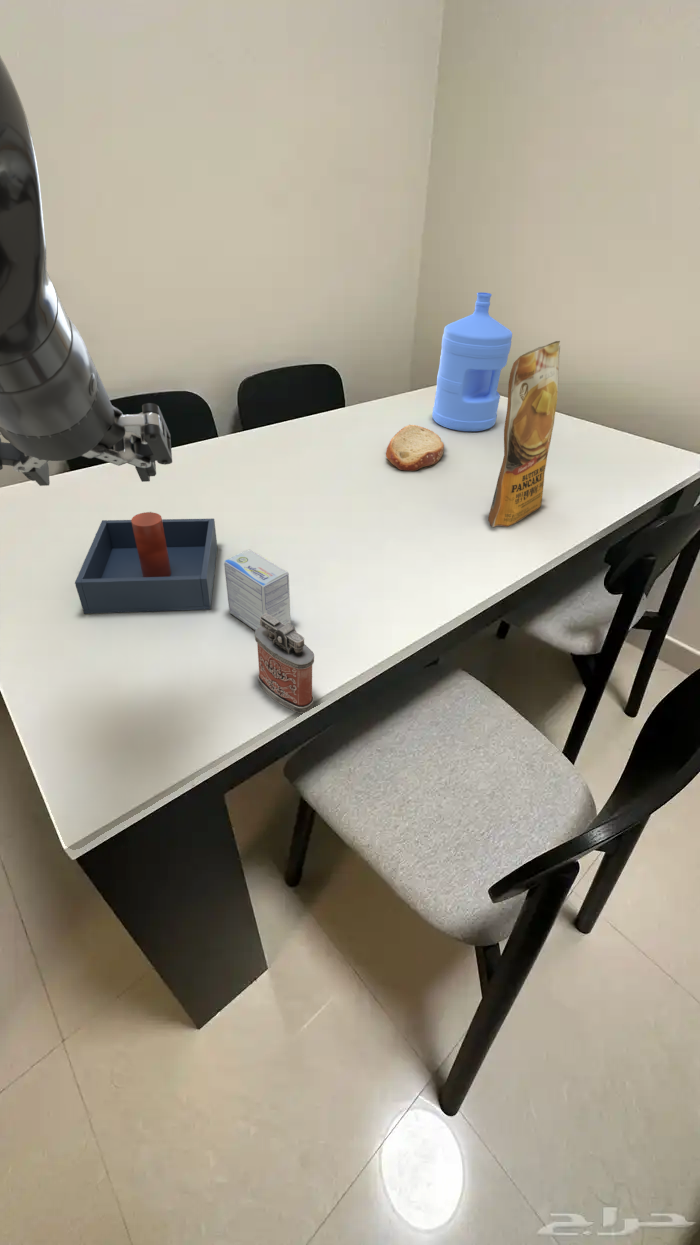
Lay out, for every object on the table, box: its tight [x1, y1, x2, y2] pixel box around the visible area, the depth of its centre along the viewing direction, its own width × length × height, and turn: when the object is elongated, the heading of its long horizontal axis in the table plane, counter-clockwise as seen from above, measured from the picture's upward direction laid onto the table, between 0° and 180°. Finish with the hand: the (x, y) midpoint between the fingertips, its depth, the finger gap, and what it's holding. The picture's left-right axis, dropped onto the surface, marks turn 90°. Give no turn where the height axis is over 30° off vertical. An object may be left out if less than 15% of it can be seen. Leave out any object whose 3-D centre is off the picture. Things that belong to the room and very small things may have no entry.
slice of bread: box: [385, 424, 445, 472], centre depth 126 cm, size 18×18×4 cm
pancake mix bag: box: [487, 340, 561, 528], centre depth 98 cm, size 7×19×28 cm, turn 136°
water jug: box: [432, 292, 513, 432], centre depth 136 cm, size 16×16×28 cm
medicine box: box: [223, 549, 292, 631], centre depth 76 cm, size 8×4×9 cm, turn 47°
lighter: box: [254, 614, 315, 714], centre depth 65 cm, size 8×3×10 cm, turn 49°
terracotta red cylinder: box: [130, 511, 171, 577], centre depth 82 cm, size 4×4×9 cm
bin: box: [74, 518, 218, 615], centre depth 83 cm, size 17×17×5 cm
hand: (95, 473), depth 52 cm, fingers open, 8 cm apart
